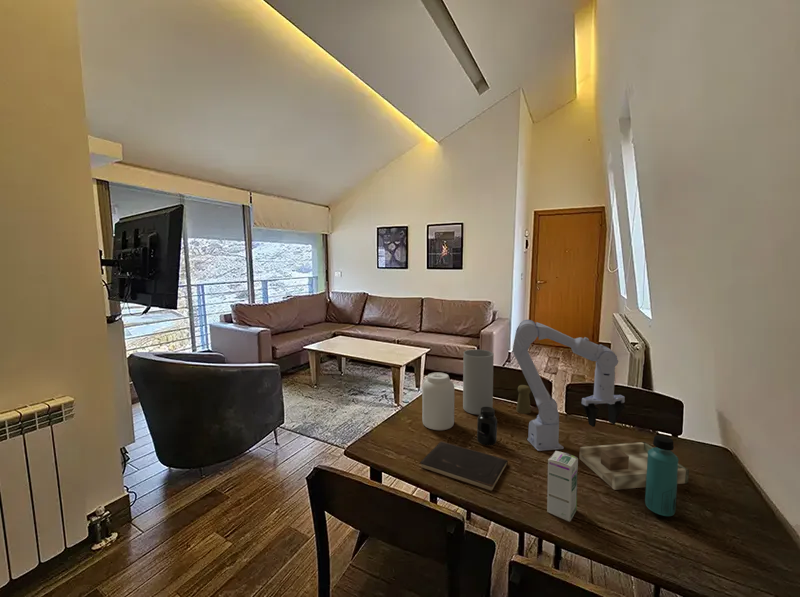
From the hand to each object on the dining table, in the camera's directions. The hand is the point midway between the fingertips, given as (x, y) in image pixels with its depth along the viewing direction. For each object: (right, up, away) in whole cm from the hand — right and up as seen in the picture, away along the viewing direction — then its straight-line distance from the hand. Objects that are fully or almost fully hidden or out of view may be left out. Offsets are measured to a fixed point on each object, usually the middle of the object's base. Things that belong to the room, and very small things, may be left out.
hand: (601, 424), depth 119 cm
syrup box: (-26, -13, -27) cm, 39 cm away
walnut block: (-2, -9, -10) cm, 14 cm away
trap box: (+3, -11, -9) cm, 15 cm away
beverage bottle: (-1, -13, -28) cm, 31 cm away
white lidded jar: (-52, -8, +23) cm, 57 cm away
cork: (-14, -7, +35) cm, 38 cm away
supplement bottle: (-36, -10, +9) cm, 38 cm away
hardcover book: (-47, -12, -6) cm, 49 cm away
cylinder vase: (-33, -7, +37) cm, 50 cm away
